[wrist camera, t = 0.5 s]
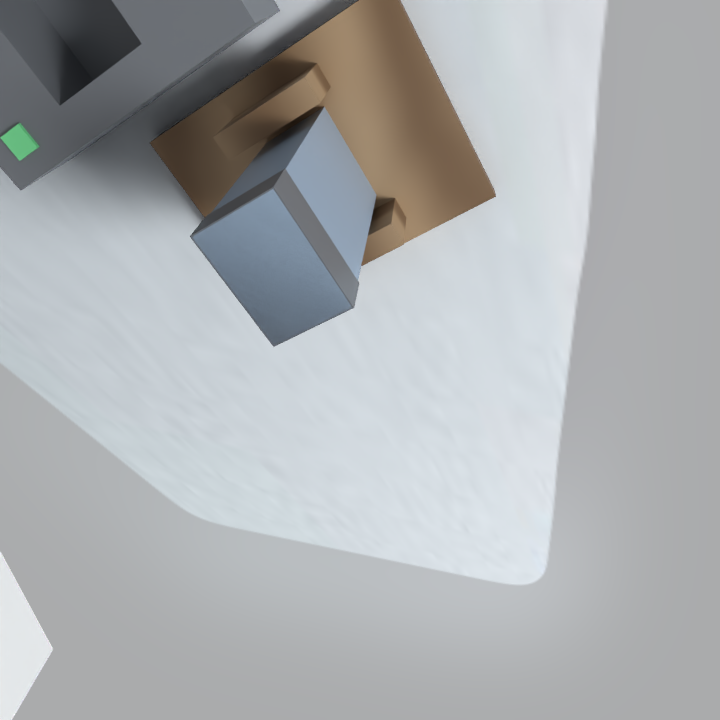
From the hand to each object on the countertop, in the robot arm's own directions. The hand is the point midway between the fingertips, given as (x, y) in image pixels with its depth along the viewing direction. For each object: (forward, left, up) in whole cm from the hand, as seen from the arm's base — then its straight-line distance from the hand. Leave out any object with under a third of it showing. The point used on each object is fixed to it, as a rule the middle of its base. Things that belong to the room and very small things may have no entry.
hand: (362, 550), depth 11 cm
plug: (+4, -1, -25) cm, 25 cm away
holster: (+4, -1, -26) cm, 26 cm away
